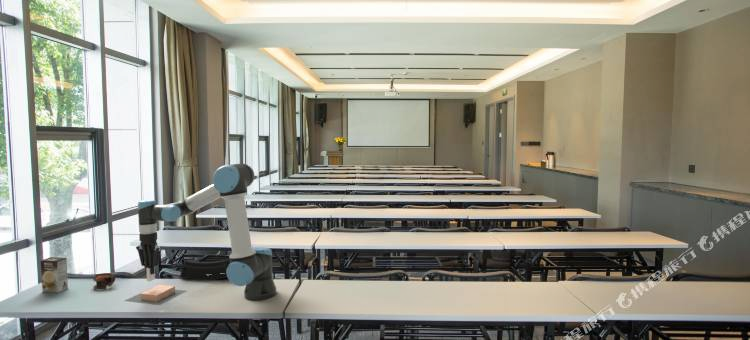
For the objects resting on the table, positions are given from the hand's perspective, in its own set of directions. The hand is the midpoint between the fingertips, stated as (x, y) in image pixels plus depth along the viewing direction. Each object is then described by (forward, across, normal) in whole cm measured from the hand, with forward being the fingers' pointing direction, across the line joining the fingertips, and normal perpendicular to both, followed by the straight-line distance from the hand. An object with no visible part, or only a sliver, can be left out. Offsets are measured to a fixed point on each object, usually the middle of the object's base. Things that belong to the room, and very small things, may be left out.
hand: (150, 280), depth 202 cm
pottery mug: (+8, +33, -5) cm, 34 cm away
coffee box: (+8, +53, +5) cm, 54 cm away
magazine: (+8, -11, -29) cm, 32 cm away
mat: (+8, -3, 0) cm, 8 cm away
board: (+6, 0, 0) cm, 6 cm away
